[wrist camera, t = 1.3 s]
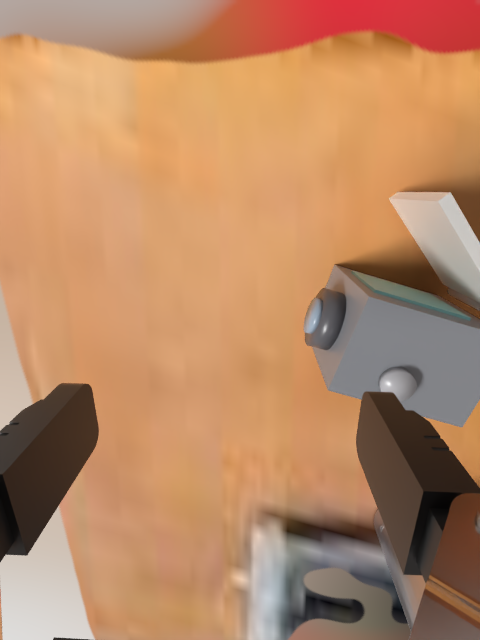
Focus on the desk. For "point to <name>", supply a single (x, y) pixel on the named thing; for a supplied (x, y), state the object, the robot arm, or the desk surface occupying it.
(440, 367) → the camera body
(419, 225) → the side door
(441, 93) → the desk surface
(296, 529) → the desk surface
